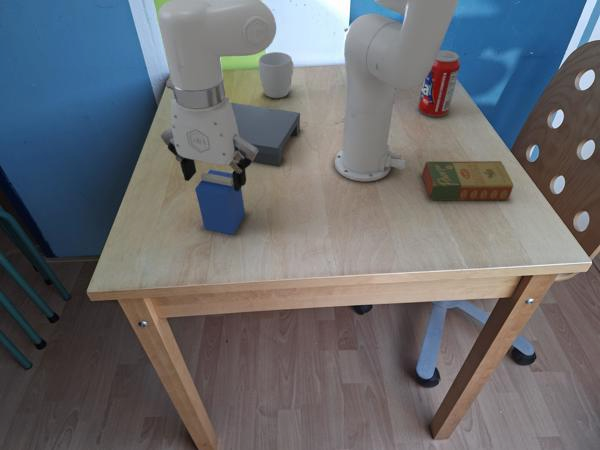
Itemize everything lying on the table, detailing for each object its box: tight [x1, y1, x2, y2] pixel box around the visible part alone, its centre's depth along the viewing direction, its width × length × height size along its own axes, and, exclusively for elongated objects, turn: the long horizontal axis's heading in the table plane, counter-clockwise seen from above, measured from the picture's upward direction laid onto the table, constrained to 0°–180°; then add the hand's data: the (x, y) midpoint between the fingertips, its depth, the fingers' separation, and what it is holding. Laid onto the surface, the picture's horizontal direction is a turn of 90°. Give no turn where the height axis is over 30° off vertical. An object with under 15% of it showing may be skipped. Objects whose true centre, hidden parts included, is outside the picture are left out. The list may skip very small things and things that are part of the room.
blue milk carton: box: [194, 169, 246, 236], centre depth 79 cm, size 6×6×11 cm
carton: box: [421, 160, 514, 201], centre depth 88 cm, size 8×16×4 cm, turn 89°
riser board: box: [230, 102, 301, 167], centre depth 102 cm, size 24×16×5 cm, turn 72°
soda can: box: [418, 49, 461, 118], centre depth 107 cm, size 8×8×15 cm
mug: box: [258, 51, 295, 99], centre depth 119 cm, size 13×9×10 cm
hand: (215, 181), depth 76 cm, fingers open, 9 cm apart
